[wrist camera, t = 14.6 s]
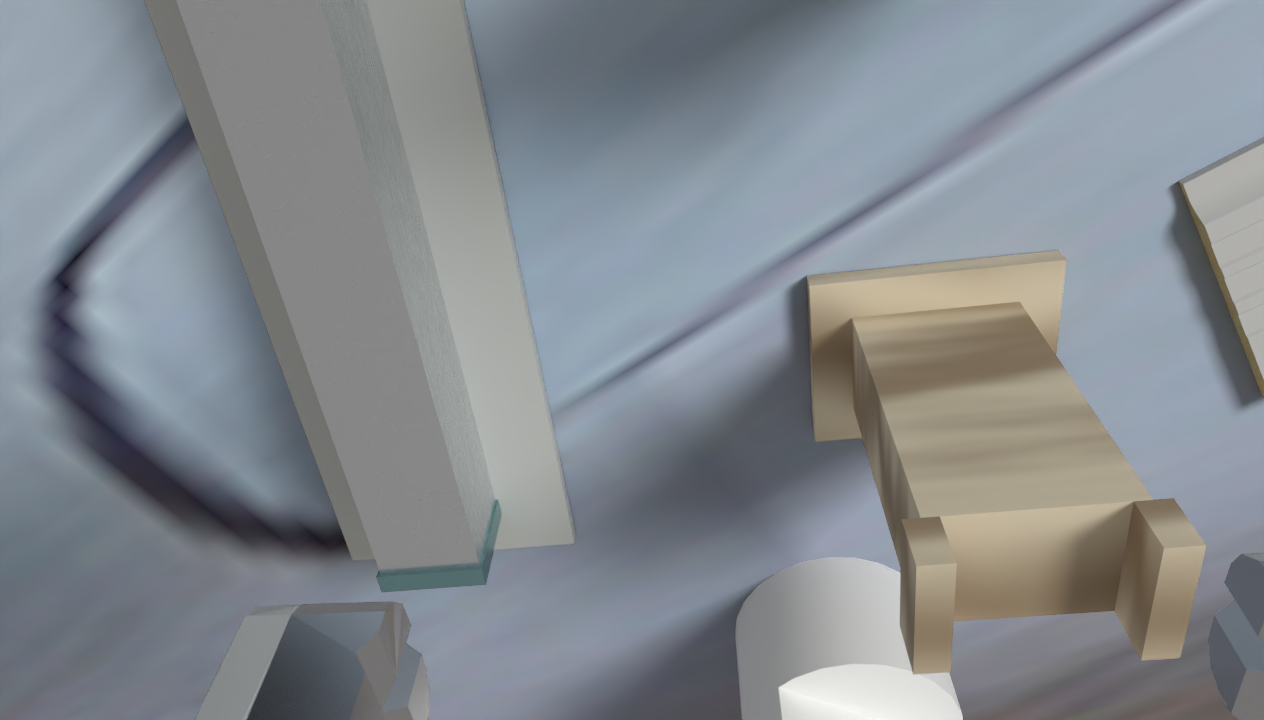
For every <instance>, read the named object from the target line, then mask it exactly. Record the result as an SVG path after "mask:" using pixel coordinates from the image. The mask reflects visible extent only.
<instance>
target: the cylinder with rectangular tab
mask: <svg viewBox="0 0 1264 720" xmlns="http://www.w3.org/2000/svg"><path fill="white" fill-rule="evenodd" d="M900 576H901V573H899V572H897V571H895V570H893V569H891V568H889V567H887V566H885V565H883V564H880V563H876V562H872V561H867V560H863V559H858V558H836V557H829V558H823V559H817V560H811V561H805V562H801V563H799V564H796V565H794V566H791V567H789V568H786V569H783V570H781V571H779V572H777V573H776V574H774V575H773V576H771V577H770V578H768V579H766V580H765V581H763V582H762V583H760V584H759V585H758V586H757V587H756V588H755V590H754V591H753V592H752V593H751V594H750V595H749V596H748V597H747V598H746V600H745V601H744V603H743V605H742V608H741V610H740V612H739V614H738V616H737V621H736V634H735V638H736V650H737V663H738V675H739V688H740V701H741V713H742V720H963V717H962V712H961V709H960V706H959V703H958V700H957V696H956V693H955V690H954V687H953V684H952V681H951V678H950V674H949V672H946V673H930V674H914V675H913V672H912V668H911V665H910V661H909V657H908V654H907V650H906V647H905V643H904V639H903V636H902V632H901V628H900Z"/></svg>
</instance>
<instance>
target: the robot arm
mask: <svg viewBox="0 0 1264 720" xmlns="http://www.w3.org/2000/svg"><path fill="white" fill-rule="evenodd" d="M1225 584H1226V586H1227V588H1228V589H1229V591H1230V592H1231V594H1232V596H1233V597H1234V600H1233V601H1232V602H1230V603H1229V604H1228V605H1226V606H1225V607H1224V608H1223V609H1221V610H1220V611H1219V612H1218V613H1216V614H1215V615H1214V618H1213V622H1212V626H1211V630H1210V634H1209V638H1208V645H1209V655H1210V665H1211V670H1212V673H1213V675H1214V678H1215V681H1216V684H1217V687H1218V690H1219V692H1220V694H1221V696H1222V697H1223V699H1224V701H1225V703H1226V705H1227V707H1228V709H1229V710H1230V712H1231V714H1233V715H1234V716H1235V717H1237V718H1238V719H1240V720H1264V552H1263V553H1248V554H1241V555H1240V556H1239V557H1237V558H1236V559H1235V560H1234V561H1233V562H1232V563H1231V565H1230V568H1229V571H1228V574H1227V577H1226V580H1225ZM410 627H411V624H410V621H409V619H408V616H407V614H406V612H405V609H404V607H403V604H402V603H398V602H363V603H328V604H302V605H285V606H256V607H255V608H254V609H253V610H252V611H251V612H250V613H249V614H248V615H246V616H245V617H244V619H243V620H242V622H241V624H240V626H239V628H238V631H237V633H236V635H235V637H234V639H233V641H232V643H231V645H230V647H229V649H228V651H227V653H226V655H225V657H224V659H223V661H222V663H221V666H220V668H219V670H218V672H217V674H216V676H215V678H214V680H213V682H212V684H211V686H210V688H209V690H208V692H207V694H206V696H205V699H204V701H203V703H202V705H201V707H200V709H199V711H198V713H197V715H196V717H195V719H194V720H429V701H430V687H429V680H428V673H427V668H426V666H425V663H424V660H423V657H422V654H421V653H419V652H418V651H417V650H415V649H414V648H412V647H411V646H409V645H408V644H407V643H406V641H407V638H408V634H409V631H410Z"/></svg>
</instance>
